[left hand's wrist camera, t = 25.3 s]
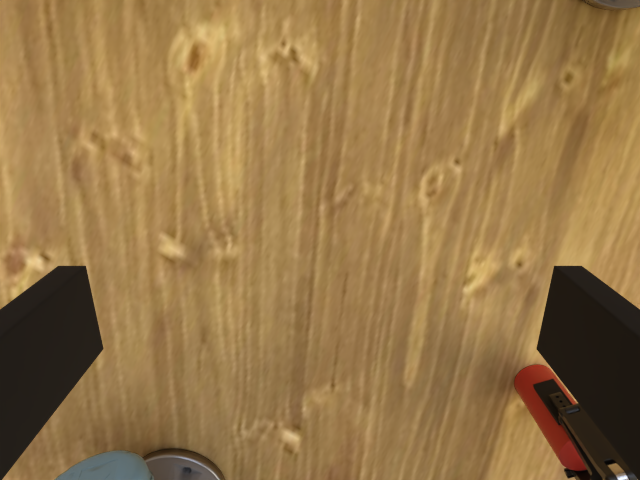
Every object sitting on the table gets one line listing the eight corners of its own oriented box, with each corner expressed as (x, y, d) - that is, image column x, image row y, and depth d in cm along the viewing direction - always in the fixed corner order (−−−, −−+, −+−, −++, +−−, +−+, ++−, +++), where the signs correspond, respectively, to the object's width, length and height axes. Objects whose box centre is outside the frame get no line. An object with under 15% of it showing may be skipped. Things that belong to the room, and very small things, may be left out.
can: (512, 368, 63) (557, 439, 51) (552, 360, 62) (607, 430, 50) (515, 399, 65) (560, 474, 53) (554, 392, 64) (608, 466, 52)
